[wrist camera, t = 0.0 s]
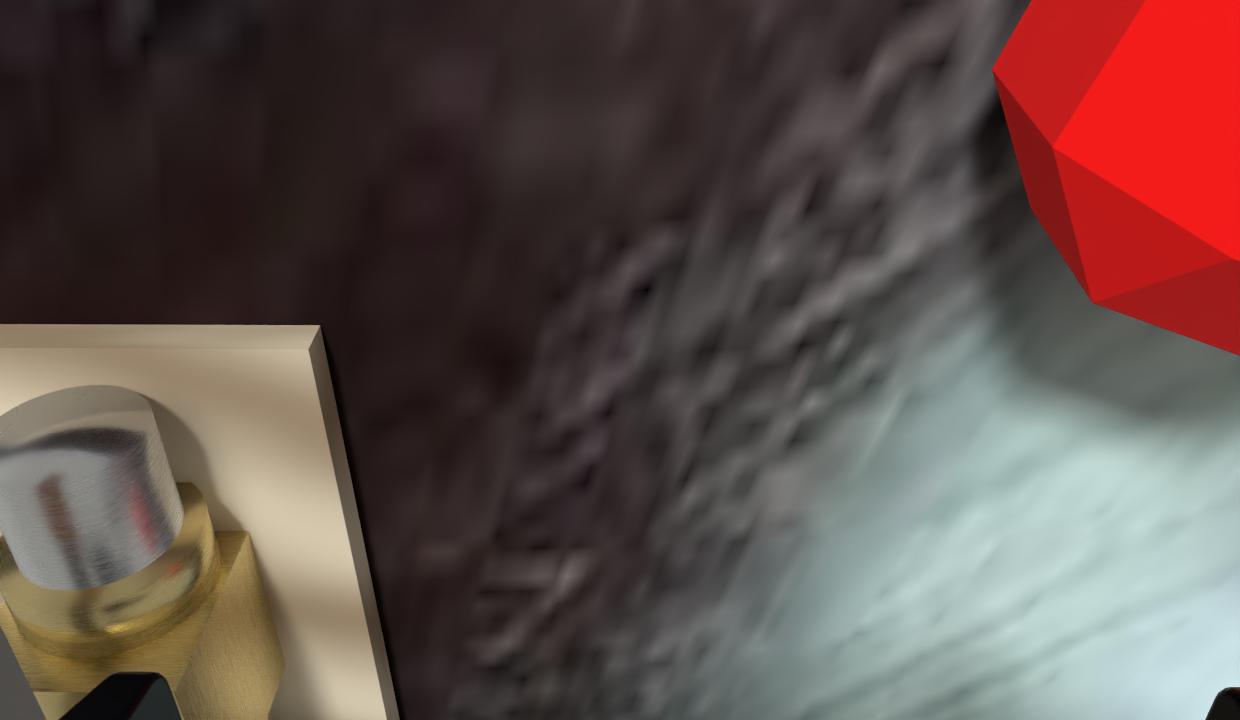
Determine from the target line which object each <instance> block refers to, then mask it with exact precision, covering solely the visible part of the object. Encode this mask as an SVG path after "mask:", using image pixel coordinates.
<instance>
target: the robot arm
mask: <svg viewBox="0 0 1240 720" xmlns="http://www.w3.org/2000/svg"><path fill="white" fill-rule="evenodd" d="M58 720H182V718H181V715H180V713H179V710H178V707H177V705H176V702H175V700H174V697H173V694H172V692H171V689H170V686H169V684H168V682H167V680H166V678H165V677H164V676H163V675H161V674H160V673H158V672H136V671H122V672H116V673H114V674H112V675H110V676H108V677H106V678H105V679H104V680H103V681H101V682H100V683H99V684H98V685H97V686H96V687H95V688H93V689H92V690H91V691H90V692H89V693H88V694H87V695H85V696H84V697H83V698H82V699H81V700H80V701H79V702H77V703H76V704H75V705H74V706H73V707H72V708H71V709H70V710H68V711H67V712H66V713H65V714H64V715H63V716H62V717H60V718H59V719H58ZM1206 720H1240V687H1229V688H1225V689H1223V690H1222V691H1220V692H1219V693H1218V694H1217V696H1216V698H1215V700H1214V702H1213V704H1212V706H1211V708H1210V711H1209V713H1208V715H1207V717H1206Z"/></svg>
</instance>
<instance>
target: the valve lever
mask: <svg viewBox="0 0 1240 720" xmlns="http://www.w3.org/2000/svg"><path fill="white" fill-rule="evenodd" d="M0 720H46V718H45V716H44V714H43V712H42V709H41V707H40V705H39V703H38V701H37V699H36V697H35V695H34V693H33V691H32V689H31V687H30V685H29V683H28V681H27V679H26V677H25V675H24V673H23V671H22V669H21V667H20V665H19V662H18V660H17V658H16V656H15V654H14V652H13V650H12V648H11V646H10V644H9V642H8V640H7V638H6V636H5V634H4V632H3V630H2V628H1V626H0Z"/></svg>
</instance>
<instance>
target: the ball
mask: <svg viewBox="0 0 1240 720" xmlns="http://www.w3.org/2000/svg"><path fill="white" fill-rule="evenodd" d="M992 71H993V74H994V78H995V82H996V85H997V89H998V92H999V96H1000V100H1001V103H1002V107H1003V110H1004V114H1005V118H1006V121H1007V125H1008V128H1009V132H1010V136H1011V139H1012V143H1013V146H1014V150H1015V154H1016V157H1017V161H1018V164H1019V168H1020V172H1021V175H1022V179H1023V182H1024V186H1025V190H1026V193H1027V197H1028V200H1029V204H1030V208H1031V210H1032V211H1033V213H1034V214H1035V216H1036V217H1037V219H1038V220H1039V222H1040V223H1041V225H1042V226H1043V228H1044V229H1045V231H1046V232H1047V234H1048V236H1049V237H1050V239H1051V240H1052V242H1053V243H1054V245H1055V246H1056V248H1057V249H1058V251H1059V252H1060V254H1061V255H1062V257H1063V258H1064V260H1065V262H1066V263H1067V265H1068V266H1069V268H1070V269H1071V271H1072V272H1073V274H1074V275H1075V277H1076V278H1077V280H1078V281H1079V283H1080V284H1081V286H1082V288H1083V289H1084V291H1085V292H1086V294H1087V295H1088V297H1089V298H1090V300H1091V301H1092V303H1094V304H1097V305H1100V306H1103V307H1106V308H1108V309H1111V310H1114V311H1117V312H1120V313H1122V314H1125V315H1128V316H1131V317H1134V318H1136V319H1139V320H1142V321H1145V322H1148V323H1150V324H1153V325H1156V326H1159V327H1161V328H1164V329H1167V330H1170V331H1173V332H1175V333H1178V334H1181V335H1184V336H1187V337H1189V338H1192V339H1195V340H1198V341H1201V342H1203V343H1206V344H1209V345H1212V346H1214V347H1217V348H1220V349H1223V350H1226V351H1228V352H1231V353H1234V354H1237V355H1240V0H1032V1H1031V2H1030V4H1029V6H1028V8H1027V9H1026V11H1025V13H1024V15H1023V16H1022V18H1021V20H1020V21H1019V23H1018V25H1017V27H1016V28H1015V30H1014V32H1013V34H1012V35H1011V37H1010V39H1009V41H1008V42H1007V44H1006V46H1005V48H1004V49H1003V51H1002V53H1001V54H1000V56H999V58H998V60H997V61H996V63H995V65H994V67H993V68H992Z"/></svg>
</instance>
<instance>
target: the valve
mask: <svg viewBox="0 0 1240 720" xmlns="http://www.w3.org/2000/svg"><path fill="white" fill-rule="evenodd" d="M0 529H1V531H2V536H1V538H0V592H1V594H2V596H3V599H4V601H5V602H4V603H3V605H2V606H1V608H0V626H1V628H2V630H3V632H4V634H5V636H6V638H7V640H8V642H9V644H10V646H11V648H12V650H13V652H14V654H15V656H16V658H17V660H18V662H19V665H20V667H21V669H22V671H23V673H24V675H25V677H26V679H27V681H28V683H29V685H30V687H31V689H32V691H33V693H34V695H35V697H36V699H37V701H38V703H39V705H40V707H41V709H42V712H43V714H44V716H45V718H46V720H58V719H59V718H60V717H62V716H63V715H64V714H65V713H66V712H67V711H68V710H70V709H71V708H72V707H73V706H74V705H75V704H76V703H77V702H79V701H80V700H81V699H82V698H83V697H84V696H85V695H87V694H88V693H89V692H90V691H91V690H92V689H93V688H95V687H96V686H97V685H98V684H99V683H100V682H101V681H103V680H104V679H105V678H106V677H108V676H110V675H112V674H114V673H116V672H122V671H136V672H158V673H160V674H161V675H163V676H164V677H165V678H166V680H167V682H168V684H169V686H170V689H171V692H172V694H173V697H174V700H175V702H176V705H177V707H178V710H179V713H180V715H181V718H182V720H272V718H271V715H270V708H271V705H272V702H273V700H274V697H275V694H276V691H277V689H278V686H279V683H280V680H281V678H282V675H283V672H284V669H285V667H286V662H285V659H284V655H283V651H282V648H281V644H280V641H279V637H278V634H277V630H276V627H275V623H274V619H273V616H272V612H271V609H270V605H269V602H268V598H267V595H266V591H265V588H264V584H263V580H262V577H261V573H260V570H259V566H258V563H257V559H256V556H255V552H254V548H253V545H252V541H251V538H250V534H249V531H214V528H213V525H212V522H211V518H210V515H209V512H208V509H207V505H206V502H205V499H204V497H203V495H202V493H201V492H200V490H199V489H198V488H197V487H196V486H195V485H194V484H193V483H192V482H175V480H174V477H173V474H172V471H171V468H170V465H169V462H168V458H167V455H166V452H165V449H164V446H163V443H162V440H161V437H160V434H159V431H158V427H157V424H156V421H155V418H154V415H153V412H152V409H151V407H150V404H149V403H148V401H147V400H146V399H145V398H144V397H143V396H141V395H140V394H138V393H137V392H135V391H132V390H130V389H127V388H123V387H119V386H111V385H86V386H77V387H72V388H66V389H62V390H58V391H54V392H51V393H47V394H44V395H41V396H39V397H36V398H33V399H31V400H29V401H26V402H24V403H22V404H20V405H18V406H16V407H14V408H12V409H11V410H9V411H7V412H6V413H4V414H3V415H1V416H0Z"/></svg>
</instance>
